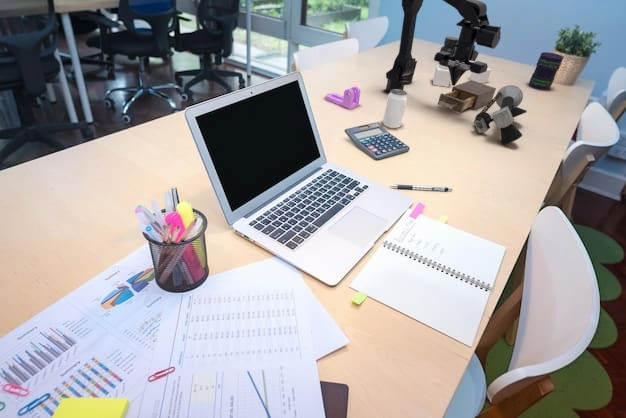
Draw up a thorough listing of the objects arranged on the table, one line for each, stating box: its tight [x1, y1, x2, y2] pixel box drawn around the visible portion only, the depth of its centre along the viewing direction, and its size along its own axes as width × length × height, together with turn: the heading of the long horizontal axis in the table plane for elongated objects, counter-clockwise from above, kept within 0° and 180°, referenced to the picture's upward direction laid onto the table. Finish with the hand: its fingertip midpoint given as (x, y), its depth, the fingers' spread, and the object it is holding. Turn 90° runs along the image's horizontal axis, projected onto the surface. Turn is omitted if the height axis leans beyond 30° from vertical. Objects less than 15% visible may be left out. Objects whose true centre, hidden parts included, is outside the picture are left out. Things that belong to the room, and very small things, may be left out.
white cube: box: [469, 67, 492, 84], centre depth 189 cm, size 6×6×6 cm
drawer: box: [437, 90, 476, 114], centre depth 156 cm, size 19×10×4 cm, turn 134°
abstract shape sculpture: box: [473, 84, 527, 145], centre depth 142 cm, size 15×13×30 cm
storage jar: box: [528, 52, 565, 91], centre depth 186 cm, size 10×10×15 cm
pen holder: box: [403, 60, 418, 85], centre depth 177 cm, size 9×9×10 cm
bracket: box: [326, 85, 361, 110], centre depth 151 cm, size 13×6×7 cm, turn 50°
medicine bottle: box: [432, 60, 451, 88], centre depth 178 cm, size 7×7×12 cm
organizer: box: [451, 79, 497, 111], centre depth 164 cm, size 16×12×6 cm
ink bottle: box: [439, 36, 459, 56], centre depth 211 cm, size 10×9×12 cm
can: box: [382, 89, 408, 129], centre depth 136 cm, size 6×6×12 cm
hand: (453, 85), depth 147 cm, fingers closed
